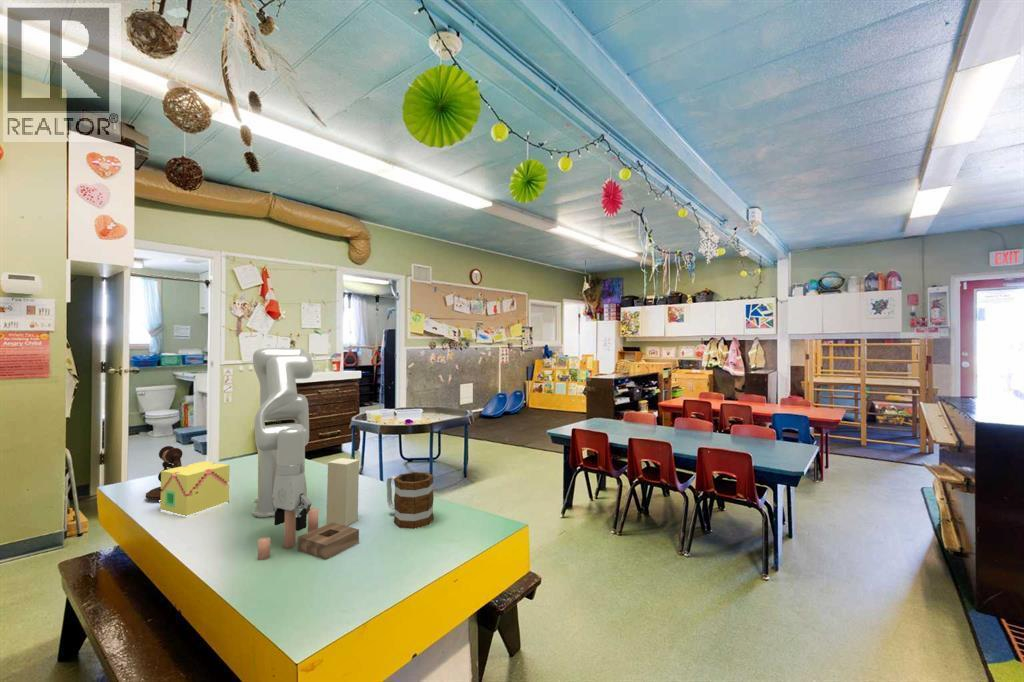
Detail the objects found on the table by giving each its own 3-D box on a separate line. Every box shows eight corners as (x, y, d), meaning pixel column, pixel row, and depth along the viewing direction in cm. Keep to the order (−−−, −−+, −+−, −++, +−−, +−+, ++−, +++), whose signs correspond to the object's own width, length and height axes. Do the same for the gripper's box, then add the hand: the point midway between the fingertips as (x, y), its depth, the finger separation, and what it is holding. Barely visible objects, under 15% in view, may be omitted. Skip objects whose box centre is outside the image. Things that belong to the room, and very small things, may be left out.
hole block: (297, 550, 124) (297, 536, 124) (331, 534, 135) (331, 522, 135) (325, 559, 119) (326, 545, 119) (358, 542, 129) (359, 529, 130)
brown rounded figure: (198, 494, 172) (199, 445, 173) (153, 506, 160) (155, 453, 161) (183, 488, 180) (184, 441, 181) (139, 498, 168) (140, 448, 168)
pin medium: (305, 536, 134) (305, 510, 134) (313, 532, 136) (314, 507, 137) (312, 538, 132) (312, 512, 133) (320, 534, 135) (320, 509, 135)
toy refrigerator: (360, 519, 147) (360, 459, 148) (345, 527, 140) (345, 464, 141) (341, 516, 150) (342, 457, 150) (326, 524, 143) (326, 462, 144)
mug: (441, 518, 149) (441, 475, 149) (414, 532, 137) (414, 485, 137) (401, 507, 159) (401, 467, 159) (372, 520, 147) (373, 476, 147)
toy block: (160, 512, 154) (161, 471, 154) (203, 499, 168) (204, 461, 168) (186, 518, 148) (187, 475, 149) (228, 504, 162) (229, 465, 163)
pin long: (281, 546, 127) (282, 506, 127) (291, 542, 129) (291, 503, 130) (288, 548, 125) (289, 508, 126) (297, 544, 128) (298, 504, 128)
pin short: (255, 558, 120) (255, 540, 120) (265, 553, 122) (266, 536, 122) (262, 560, 118) (262, 542, 118) (272, 556, 121) (272, 538, 121)
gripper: (261, 469, 128) (260, 526, 128) (298, 475, 121) (298, 536, 120) (284, 463, 135) (283, 517, 134) (321, 469, 127) (320, 527, 127)
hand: (290, 526), depth 127 cm, fingers open, 9 cm apart
